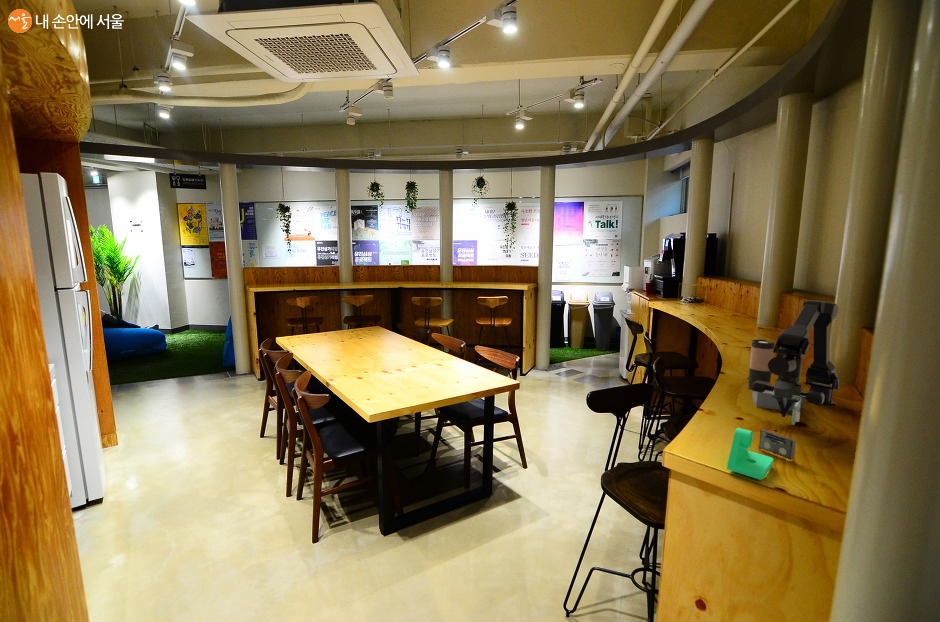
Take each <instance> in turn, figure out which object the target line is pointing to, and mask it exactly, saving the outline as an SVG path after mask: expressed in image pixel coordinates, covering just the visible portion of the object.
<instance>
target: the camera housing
mask: <svg viewBox="0 0 940 622" xmlns="http://www.w3.org/2000/svg"><path fill="white" fill-rule="evenodd" d="M772 395H773V392H772V391H767V390H765V391H764V392H762V393H761V392H756V391H752V397H751V398H752V401H753V403H754V406H755V407H756V408H763V409H770V410H778V411H781V410H780V407H779V404H778V401H777V400H776V398H773V397H772ZM786 403H787V398H786V400H785V406H786ZM795 404H796V402H794V403H793V404H792V406H791V407H790V409H789V411H788V412H793V408H794V406H795ZM804 406H805V398H801V406H800V408H804Z"/></svg>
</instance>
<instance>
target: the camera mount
mask: <svg viewBox="0 0 940 622" xmlns="http://www.w3.org/2000/svg"><path fill="white" fill-rule="evenodd" d="M753 439H754V432H753V430H749V429H744V428H740V427H737V428H735V431H734V434H733V439H732V443H731V446H730V447H731V448H730V450H729V456H728V459H727V465H726V466H727V467H726V469H727V470H729V471H732V472H735V473H738V474H741V475H744V476H748V477H750V478H753V479H756V480H763V479H765V478H764V477H765V476H766V474H767V472H768V471H769V469H770V470H771V468H772V467H773V466H774V465H773V464H774V458H773V457H771V456H768V455H764V454H760V453H757V452H753V451H750V450H748V449H751V447H752V443H753ZM771 466H772V467H771Z"/></svg>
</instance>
